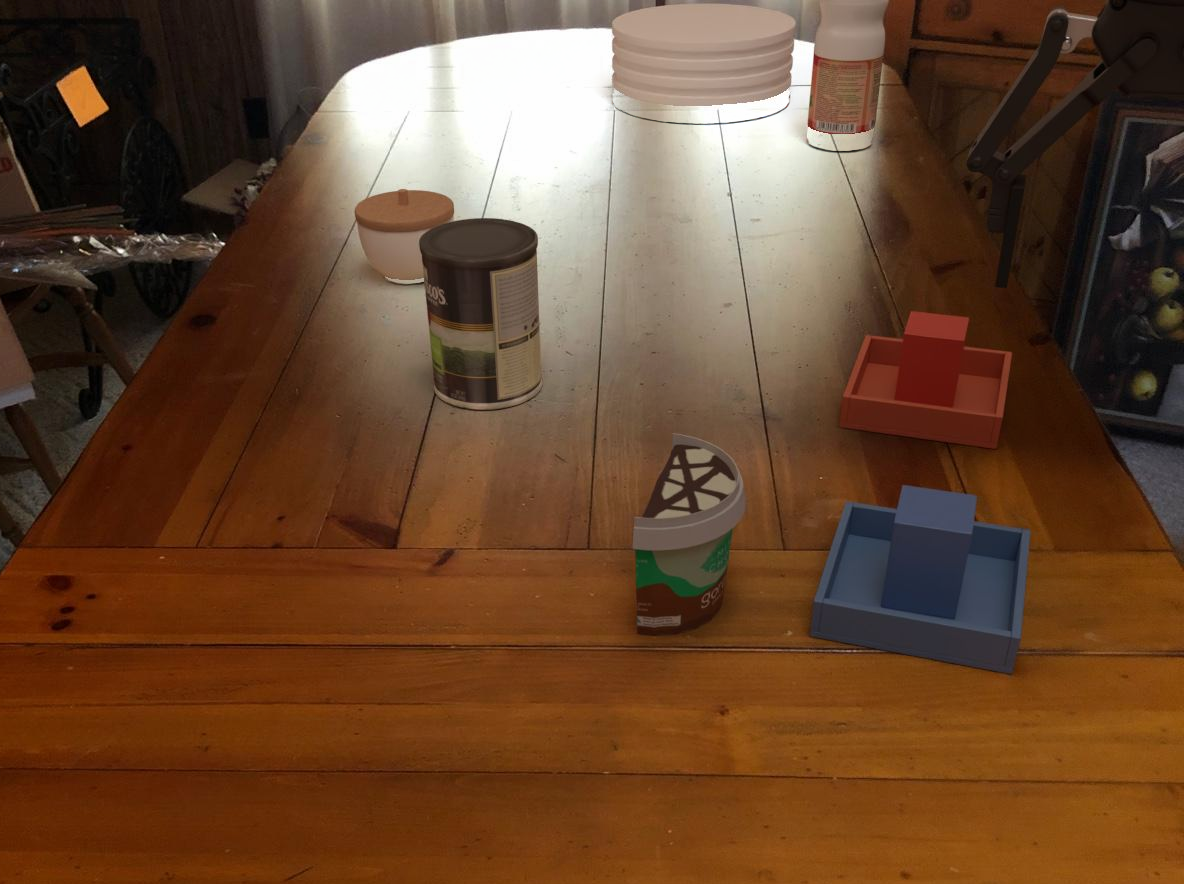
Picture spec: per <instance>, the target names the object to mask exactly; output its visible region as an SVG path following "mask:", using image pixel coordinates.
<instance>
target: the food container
mask: <svg viewBox="0 0 1184 884" xmlns="http://www.w3.org/2000/svg"><path fill="white" fill-rule="evenodd" d="M671 447H672V449H671V451H670V453H669V454H670V456H669V457H668V459H667V461H666V464H665V466H664V468H663V469H662V471H661V472H660V474H659V476H658V478H657V480H656V482H655V485H654V487H653V490H652V493H651V496H650V497H649V500H648V503H647V506H646V507H645V509H644V512H643V514H642V516H634V525H633V526H634V527H633V532H632V550H634V555H635V556H634V560H635V561H634V562H635V595H636V596H635V603H636V605H635V607H636V634H637V635H645V636H665V635H677V634H680V633H685V632H688V631H691V630H694V629H697V628H700V627H701V626H703V625H704V624H706V623H708V622H709V621H712V619H713V618H714V617H715V616H716V615H717V614H718V613H719V611H720V609H721V608H722V605H723V600H724V592H725V585H726V579H727V572H728V566H729V559H730V552H731V547H732V539H733V532H734V528H735V527H736V526H737V525H738V523H739V522H740V521H741V520H742V518H743V516H744V514H745V512H746V507H747V497H746V491H745V486H744V480H743V479H744V478H743V476H742V474H741V472H740V470H739V467H738V465H737V463H736V462H735V460H734V459H733V457H732V456H731V455H730V454H729V453H727V452H726V451H725V450H723V449H722V448H720V447H719V446H717V445H716V444H713V443H711V442H709V441H706V440H704V439H701V438H698V437H696V436H690V435H685V434H681V433H675V432H674V433H672V446H671Z"/></svg>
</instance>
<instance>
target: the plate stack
mask: <svg viewBox="0 0 1184 884" xmlns="http://www.w3.org/2000/svg"><path fill="white" fill-rule="evenodd" d="M796 26H797V23H796V19H795V18H794V17H792V16H791V15H789V14H787V13H785V12H782V11H778V10H775V9H770V8H766V7H760V6H754V5H753V6H752V5H746V4H745V5H744V4H733V3H679V4H668V5H658V6H651V7H650V6H649V7H645V8H640V9H635V10H631V11H628V12H625V13H623V14H620V15H619V16H617V17H615V18H614V19H613V20H612V23H611V33H612V35H613V36H614V37H613V38H612V40H611V51H612V54H613V56H612V58H611V68H612V70H613V73H612V75H611V76H612V77H611V78H612V79H611V80H612V81H611V82H612V83H613V85H612V87H613V86H614V88H615V89H616V90H617V91H619V92H620V93H622V94H624V95H625V96H628V97H630V98H633V99H636V100H640V101H644V102H649V103H655V104H663V105H673V106H712V105H723V104H737V103H747V102H754V101H760V100H765V99H768V98H771V97H774V96H777V95H779V94H781V93H783V92H784V91H786V90H787V89H788V88H789V87H790V88H791V86H792V78H793V76H792V73H791V71H792V69H793V63H794V57H793V55H792V54H793V52H794V49H795V39H794V35H795V33H796ZM612 83H611V84H612ZM790 85H791V86H790ZM614 88H613V89H614ZM790 88H789V89H790Z"/></svg>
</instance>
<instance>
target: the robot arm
mask: <svg viewBox="0 0 1184 884" xmlns="http://www.w3.org/2000/svg"><path fill="white" fill-rule="evenodd" d="M1085 39H1091V41H1092V44H1093V46H1094V49H1095V50H1096V52H1097V54H1098V56H1099V58H1100V60H1101V61H1100V62H1099V63H1098V64H1097V65H1096V66H1094V68H1092V69H1091V70H1090V71H1089V72H1088V73H1087V75H1085V77H1084V78H1083V79H1082V80H1081V81H1080V83H1078V84H1077V85H1076V86H1075V87H1074V88H1073V89H1072V90H1071V91H1070V92H1069V93H1068V94H1066V95H1065V96H1064V97H1063V98H1062V99H1061V100H1060V101H1059V102H1058V103H1056V105H1055V106H1054V107H1053V108H1052V109H1050V110H1049V111H1048V112H1047V113H1046V114H1045V115H1044V116H1042V118H1041V119H1039V121H1037V122H1036V123H1035V124H1034V125H1033V126H1032V127H1031V128H1030V129H1029V130H1028V131H1027V132H1026V133H1024V134H1023V135H1022V136H1021V137H1020V138H1018V140H1016V142H1015V143H1013V145H1011V146H1010V147H1009V148H1008V149H1007V150H1006V151H1004V153H1003V152H1000V151H999V150H998V149H999V148H1000V146H1001V145H1002V144H1003V143H1004V141H1005V139H1006V138H1007V136H1008V135H1009V133H1010V132H1011V130H1012V129H1013V128H1014V126H1015V124H1016V123H1017V122H1018V120H1019V118H1020V117H1021V116H1022V115H1023V113H1024V112H1025V110H1026V108H1027V107H1028V106H1029V104H1030V103H1031V102H1032V100H1033V98H1034V97H1035V96H1036V94H1037V93H1038V91H1039V89H1041V87H1042V85H1043V84H1044V83H1045V81H1046V80H1047V78H1048V77H1049V75H1050V73H1051V72H1052V70H1053V69H1054V67H1055V66H1056V63H1057V61H1058V60H1059V57H1060V55H1068V54H1070V53H1072V52H1073V51H1074V50H1075V49H1076V47H1077V46H1078V44H1079V43H1080V42H1081V41H1083V40H1085ZM1115 91H1118V92H1120V93H1121V94H1123V95H1125V96H1127V99H1128V100H1145V99H1150V98H1154V97H1159V98H1162V99H1165V100H1169V101H1174V102H1184V0H1106V1H1105V3H1104V6H1103V7H1102V9H1101V11H1100V12H1099V13H1098V15H1097V16H1093V15H1089V14H1081V13H1073V12H1069V10H1068V9H1067V8H1066V6H1062V5H1058V6H1054V7H1052V8H1051V10H1049V12H1048V14H1047V16H1046V20H1045V23H1044V28H1043V31H1042V34H1041V38H1040V40H1039V45H1038V46H1037V48H1036V50H1035V52H1034V53H1033V54H1032V56H1031V57H1030V58H1029V60H1028V61H1027V63H1026V64H1025V66H1024V67H1023V69H1022V71H1021V72H1020V73H1019V75H1018V76H1017V78H1016V79H1015V81H1014V82H1013V84H1012V85H1011V86H1010V88H1009V90H1008V91H1007V93H1006V94H1005V96H1004V97H1003V99H1002V100H1001V102H1000V103H999V105H998V106H997V108H996V109H995V110H994V112H993V114H992V115H991V117H990V118H989V119H988V121H987V123H986V124H985V126H984V127H983V128H982V130H981V131H980V133H979V135H977V138H975V140H974V142H973V143H972V145H971V146H970V149H969V151H968V156H967V158H966V167H967V169H968V170H969V171H970V172H972V173H980V174H982V175H984V176H985V177H987V178H989V179H990V181H991V184H992V189H991V195H990V201H989V207H988V214H987V220H986V227H987V231H988V233H997V234H1003V237H1002V242H1001V248H1000V254H999V260H998V264H997V265H998V266H997V272H996V278H995V283H994V288H1002V289H1008V285H1009V278H1010V273H1011V272H1010V271H1011V268H1012V267H1011V266H1012V262H1013V261H1012V260H1013V255H1014V251H1015V250H1014V249H1015V244H1016V239H1017V234H1018V233H1017V232H1018V228H1019V223H1020V222H1019V221H1020V215H1021V209H1022V204H1023V199H1024V193H1025V189H1026V188H1025V187H1026V180H1027V174H1022V173H1023V172H1024V171H1025V170H1026V169H1028V167H1030V166H1031V165H1032V164H1033V163H1034V162H1035V161H1036V160H1037V159H1039V158H1040V157H1041V156H1042V155H1043V154H1044V153H1045V152H1046V151H1047V150H1048V149H1049V148H1050V147H1051V146H1053V145H1054V144H1055V143H1057V142H1058V140H1060V139H1061V138H1062V137H1063V136H1064V135H1065V134H1066V133H1067V132H1068V131H1069V130H1070V129H1072V128H1073V127H1074V126H1075V125H1076V124H1077V123H1078V122H1079V121H1081V120H1082V119H1083V118H1084V117H1085V116H1086V115H1087V114H1089V112H1090V111H1092V110H1093V109H1094V108H1095V107H1097V106H1099V105H1100V104H1101V103H1103V102H1105V100H1106V99H1108V97H1110V95H1112V93H1114V92H1115ZM997 150H998V151H997Z"/></svg>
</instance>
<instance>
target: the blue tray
mask: <svg viewBox="0 0 1184 884" xmlns="http://www.w3.org/2000/svg"><path fill="white" fill-rule="evenodd" d="M896 511H897V508H893V507H886V506H882V505H881V506H880V505H874V504H866V503H861V502H854V501H845V502H844V505H843V508H842V512H841V515H840V518H839V521H838V524H837V527H836V530H835V533H834V536H833V539H832V542H831V546H830V549H829V551H828V555H827V558H826V561H825V564H824V568H823V571H822V574H821V577H820V580H819V584H818V586H817V589H816V592H815V595H814V598H813V602H812V611H811V621H810V628H809V629H810V630H809V637H812V638H815V639H816V638H817V639H821V640H828V641H832V642H838V643H841V644H842V643H843V644H849V645H852V646H853V645H854V646H859V647H864V648H869V649H875V650H880V651H885V652H891V653H897V654H900V655H901V654H902V655H907V656H911V657H912V656H913V657H917V658H923V659H928V660H934V661H939V662H943V663H949V664H955V665H960V666H965V667H969V668H970V667H971V668H974V669H975V668H976V669H981V670H987V671H991V672H996V673H1002V674H1008V675H1013V673H1014V668H1015V664H1016V660H1017V656H1018V651H1019V649H1020V644H1021V640H1022V632H1023V620H1024V608H1025V598H1026V587H1027V576H1028V567H1029V566H1028V565H1029V557H1030V556H1029V554H1030V553H1029V552H1030V544H1031V535H1032V534H1031V533H1032V530H1031V529H1027V528H1021V527H1016V526H1015V527H1013V526H1008V525H1002V524H995V523H989V522H983V521H977V520H974V525H973V533H972V538H971V543H970V548H969V553H968V558H967V563H966V568H965V573H964V578H963V583H962V587H961V592H960V597H959V602H958V607H957V612H956V617H955V619H949V618H943V617H937V616H932V615H926V614H920V613H914V612H908V611H902V610H896V609H891V608H885V607H881V601H882V595H883V588H884V582H885V576H886V569H887V563H888V557H889V550H890V544H891V537H892V531H893V525H894V520H895V515H896Z"/></svg>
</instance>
